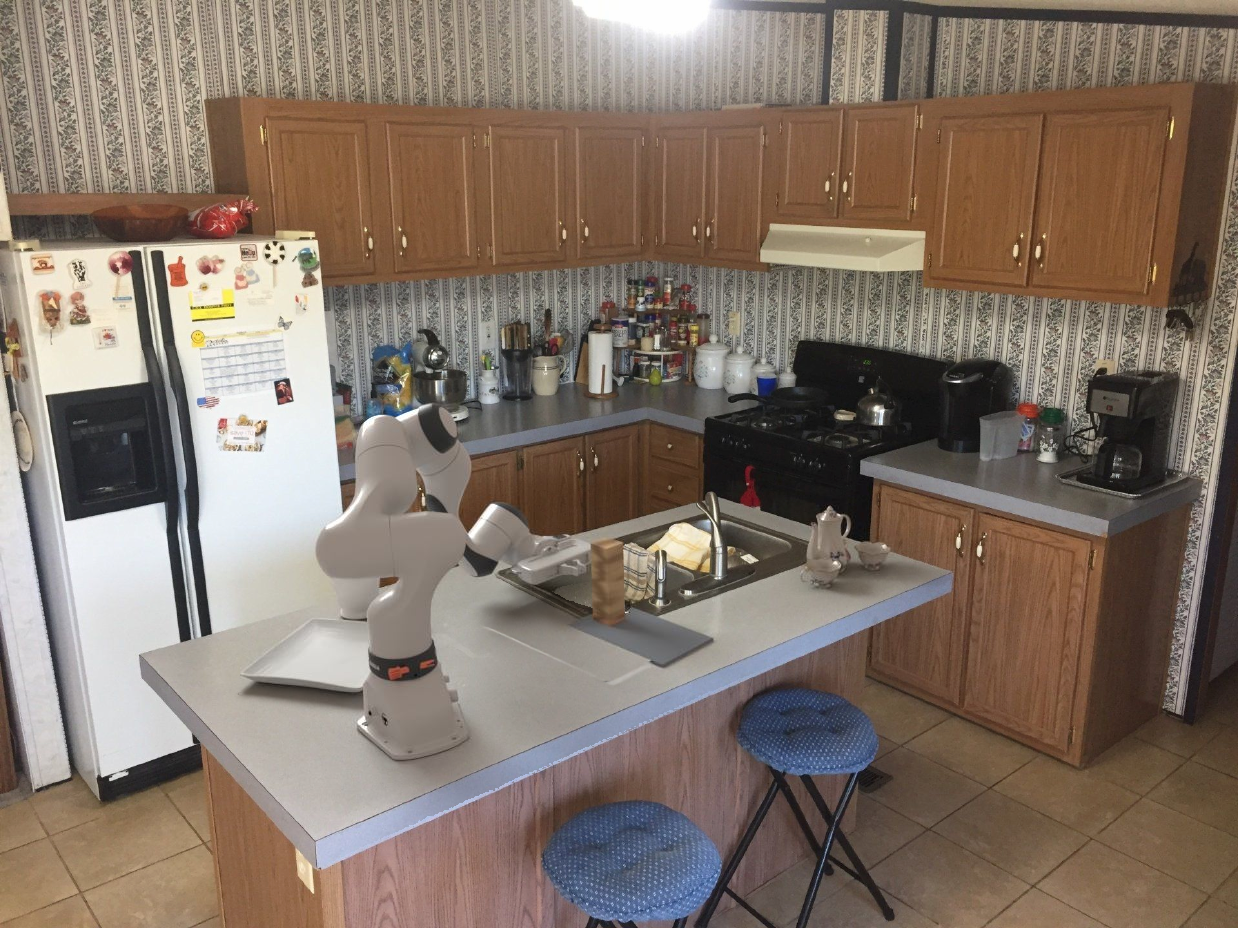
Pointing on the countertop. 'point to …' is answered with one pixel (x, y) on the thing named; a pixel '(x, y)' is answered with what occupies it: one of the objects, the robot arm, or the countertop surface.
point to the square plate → (317, 657)
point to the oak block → (608, 581)
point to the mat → (646, 636)
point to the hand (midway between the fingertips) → (581, 570)
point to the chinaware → (836, 550)
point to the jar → (355, 596)
